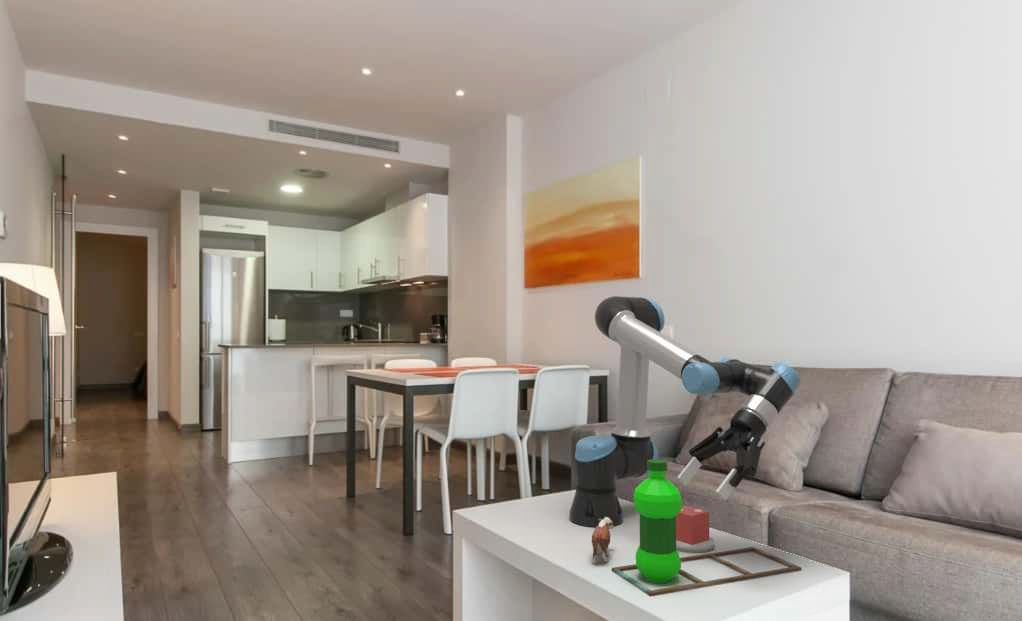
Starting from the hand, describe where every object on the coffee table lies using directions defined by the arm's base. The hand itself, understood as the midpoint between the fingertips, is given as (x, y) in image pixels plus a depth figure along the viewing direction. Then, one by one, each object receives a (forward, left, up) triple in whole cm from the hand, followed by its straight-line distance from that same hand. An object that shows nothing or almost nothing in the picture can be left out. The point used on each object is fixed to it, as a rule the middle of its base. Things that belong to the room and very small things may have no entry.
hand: (699, 488), depth 139 cm
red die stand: (-16, +9, -18) cm, 25 cm away
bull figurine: (-16, -16, -18) cm, 29 cm away
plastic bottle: (0, -12, -18) cm, 22 cm away
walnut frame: (0, +1, -18) cm, 18 cm away
